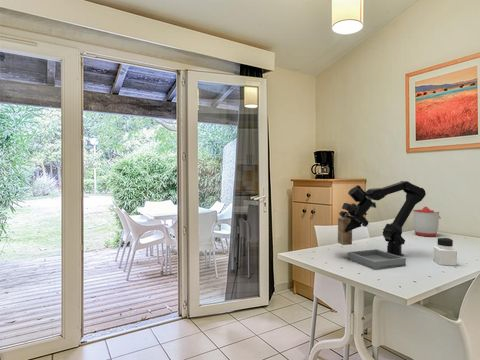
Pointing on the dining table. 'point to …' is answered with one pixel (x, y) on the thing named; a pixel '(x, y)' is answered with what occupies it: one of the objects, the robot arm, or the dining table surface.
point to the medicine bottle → (445, 252)
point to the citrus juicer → (426, 222)
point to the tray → (376, 259)
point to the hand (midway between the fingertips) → (342, 230)
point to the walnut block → (343, 236)
